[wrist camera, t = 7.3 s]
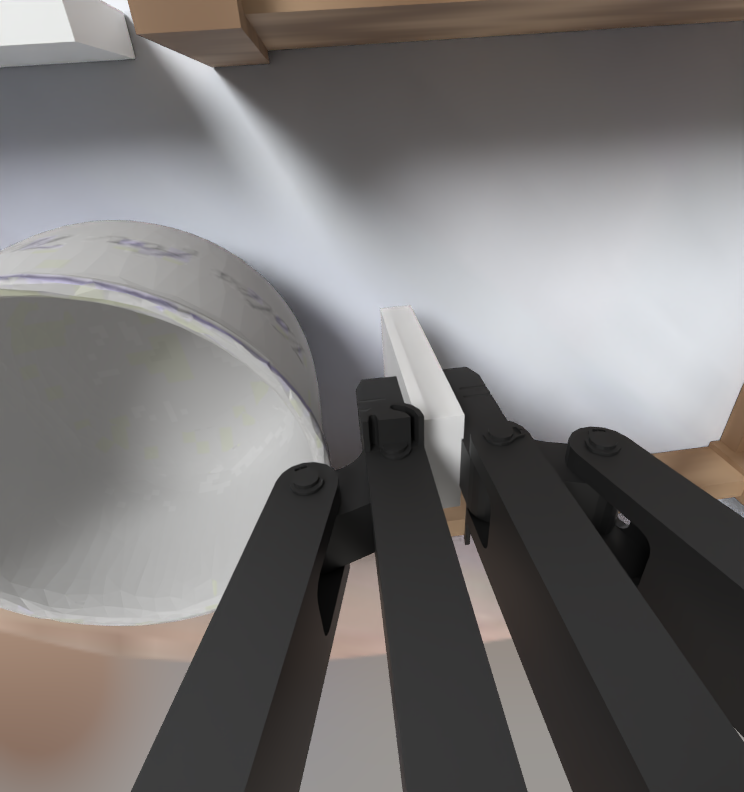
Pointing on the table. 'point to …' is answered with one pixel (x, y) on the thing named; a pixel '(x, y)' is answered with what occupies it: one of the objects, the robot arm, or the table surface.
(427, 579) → the robot arm
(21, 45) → the holder
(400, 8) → the wooden frame
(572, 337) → the table surface
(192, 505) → the teacup
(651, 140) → the table surface
